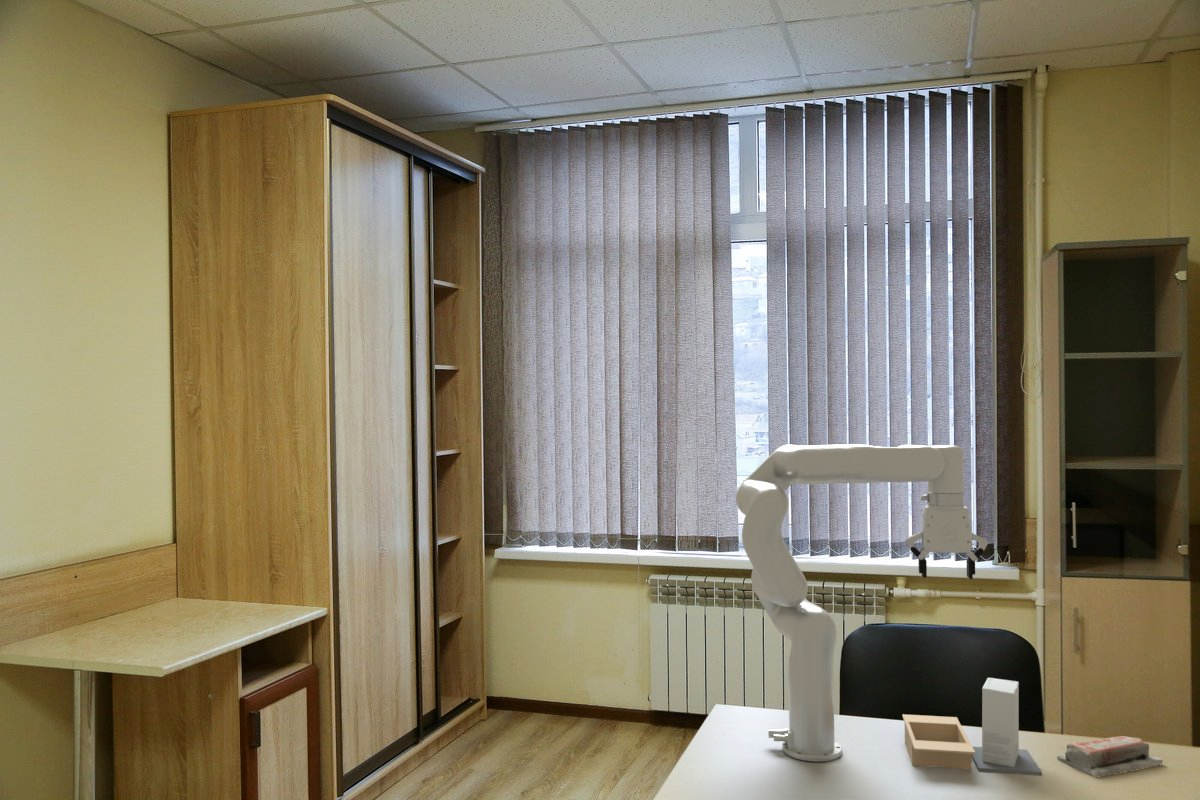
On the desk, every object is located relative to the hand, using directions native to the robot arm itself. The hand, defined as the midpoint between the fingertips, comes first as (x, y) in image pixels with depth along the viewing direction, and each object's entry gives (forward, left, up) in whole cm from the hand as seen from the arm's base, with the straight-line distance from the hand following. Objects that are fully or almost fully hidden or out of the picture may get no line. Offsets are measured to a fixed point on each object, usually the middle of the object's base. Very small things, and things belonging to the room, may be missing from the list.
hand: (946, 577), depth 203 cm
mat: (+9, -11, -36) cm, 39 cm away
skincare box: (+9, -11, -36) cm, 38 cm away
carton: (-4, -10, -36) cm, 38 cm away
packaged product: (+30, -7, -37) cm, 48 cm away
